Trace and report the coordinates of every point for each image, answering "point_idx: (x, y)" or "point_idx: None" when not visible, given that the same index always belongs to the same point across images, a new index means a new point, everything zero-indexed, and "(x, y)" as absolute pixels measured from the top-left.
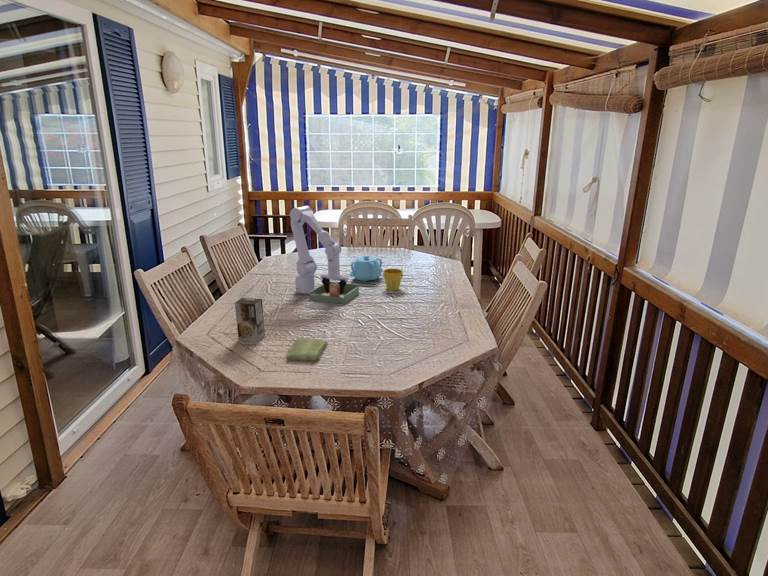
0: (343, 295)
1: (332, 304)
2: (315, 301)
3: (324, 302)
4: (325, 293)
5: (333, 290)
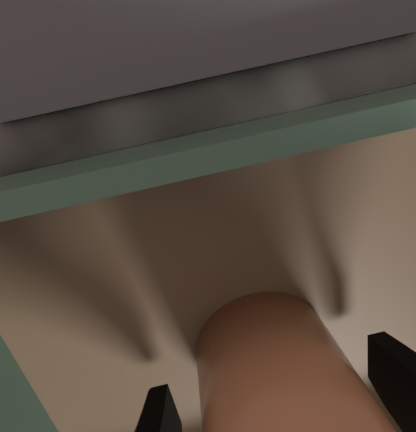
0: (190, 413)
1: (28, 44)
2: (399, 14)
3: (229, 61)
4: None
5: (263, 398)
